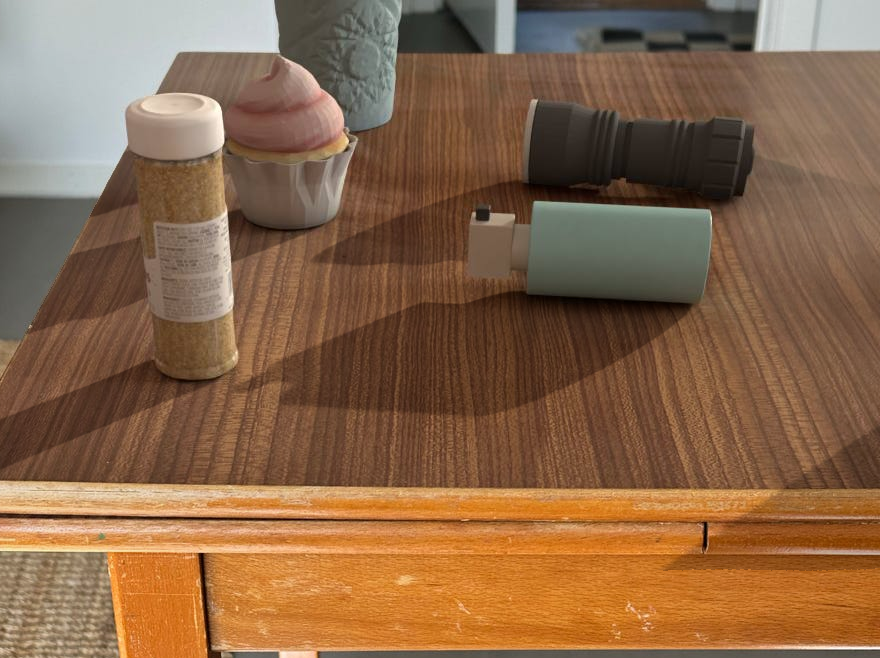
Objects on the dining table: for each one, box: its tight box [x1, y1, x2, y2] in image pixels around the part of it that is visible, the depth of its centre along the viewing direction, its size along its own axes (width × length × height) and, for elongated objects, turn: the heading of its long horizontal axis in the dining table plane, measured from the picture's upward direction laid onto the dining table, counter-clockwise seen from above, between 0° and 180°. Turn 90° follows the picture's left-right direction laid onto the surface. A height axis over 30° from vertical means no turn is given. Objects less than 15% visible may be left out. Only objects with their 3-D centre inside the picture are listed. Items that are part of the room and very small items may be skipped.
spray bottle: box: [467, 200, 713, 305], centre depth 76 cm, size 14×5×5 cm, turn 83°
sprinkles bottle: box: [124, 92, 240, 381], centre depth 66 cm, size 5×5×14 cm
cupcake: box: [222, 54, 359, 230], centre depth 85 cm, size 9×9×10 cm
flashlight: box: [521, 98, 756, 201], centre depth 90 cm, size 15×5×5 cm, turn 78°
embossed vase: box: [273, 0, 403, 133], centre depth 101 cm, size 10×10×12 cm
